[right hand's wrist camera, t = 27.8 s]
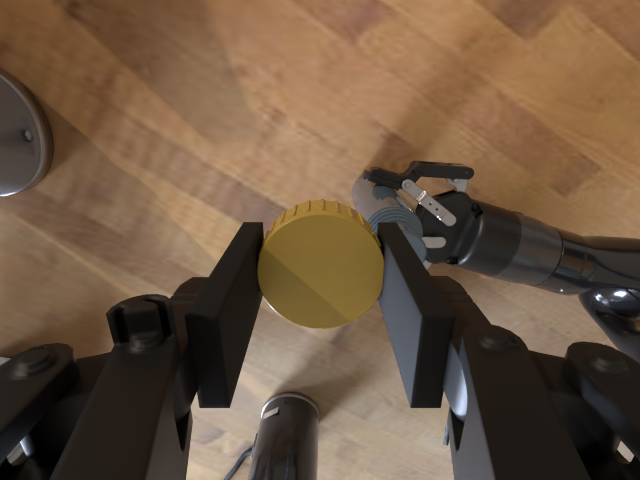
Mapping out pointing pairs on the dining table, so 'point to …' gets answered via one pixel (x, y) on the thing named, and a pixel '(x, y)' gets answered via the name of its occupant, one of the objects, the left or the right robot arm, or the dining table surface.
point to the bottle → (388, 211)
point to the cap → (321, 265)
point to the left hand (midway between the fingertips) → (355, 200)
